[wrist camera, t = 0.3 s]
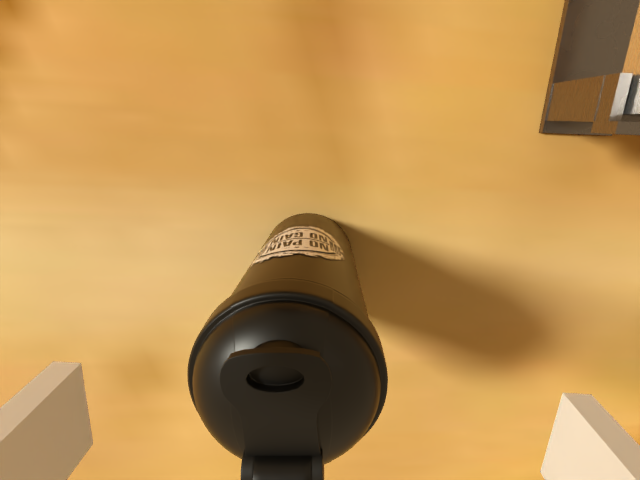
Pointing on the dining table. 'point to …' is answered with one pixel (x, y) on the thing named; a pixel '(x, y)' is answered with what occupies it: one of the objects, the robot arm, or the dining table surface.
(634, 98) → the rail
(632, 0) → the rack
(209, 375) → the water bottle
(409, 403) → the dining table surface
